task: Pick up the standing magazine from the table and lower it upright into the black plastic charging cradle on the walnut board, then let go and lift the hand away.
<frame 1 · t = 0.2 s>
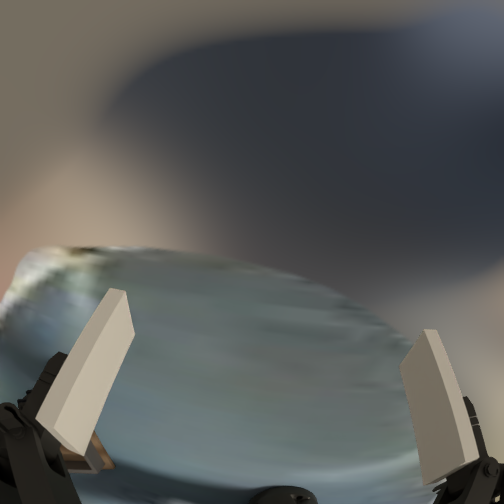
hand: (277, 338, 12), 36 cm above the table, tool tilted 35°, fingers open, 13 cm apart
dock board: (68, 446, 46), on the table
cradle: (66, 448, 45), resting on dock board
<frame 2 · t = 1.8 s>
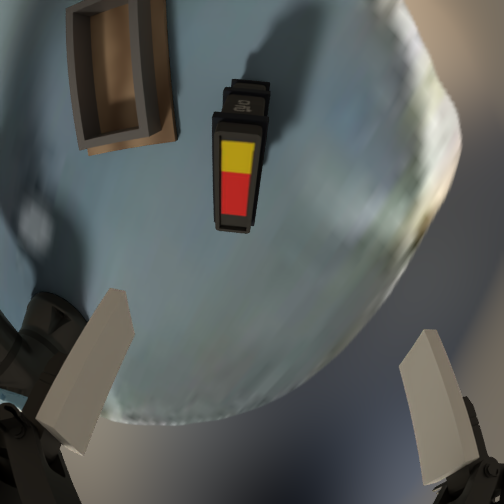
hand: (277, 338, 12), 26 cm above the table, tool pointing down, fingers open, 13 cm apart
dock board: (121, 65, 28), on the table
cradle: (118, 65, 27), resting on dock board
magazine: (246, 137, 33), on the table
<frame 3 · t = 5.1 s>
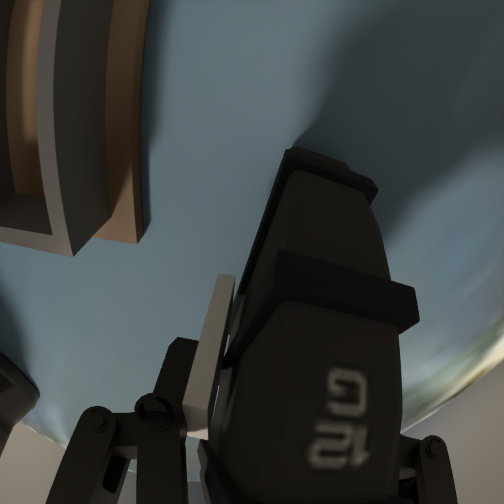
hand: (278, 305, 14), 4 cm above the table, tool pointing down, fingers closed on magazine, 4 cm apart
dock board: (53, 62, 11), on the table
cradle: (42, 63, 10), resting on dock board
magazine: (279, 259, 17), on the table, touching gripper
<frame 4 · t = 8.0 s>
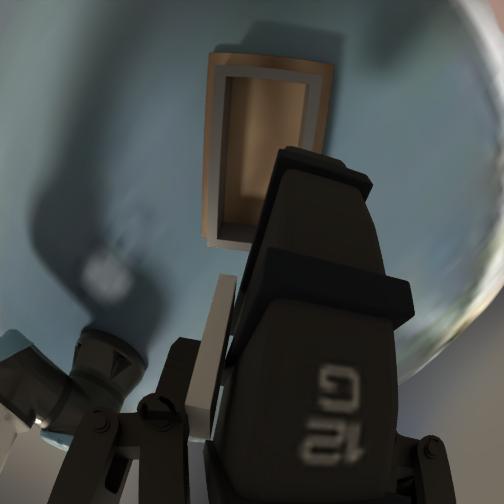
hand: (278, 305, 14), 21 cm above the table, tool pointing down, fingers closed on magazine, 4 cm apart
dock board: (261, 153, 30), on the table
cradle: (261, 156, 29), resting on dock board
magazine: (279, 258, 17), point 17 cm above the table, touching gripper
when the fingers open (6 cm above the table, at t = 10.7 s): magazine drops 1 cm, resting on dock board.
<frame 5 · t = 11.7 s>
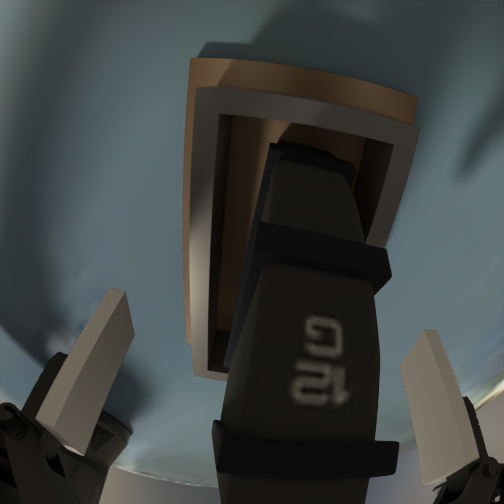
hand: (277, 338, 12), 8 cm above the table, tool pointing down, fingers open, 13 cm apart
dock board: (279, 239, 19), on the table
cradle: (279, 247, 18), resting on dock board
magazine: (277, 246, 18), point 1 cm above the table, touching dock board
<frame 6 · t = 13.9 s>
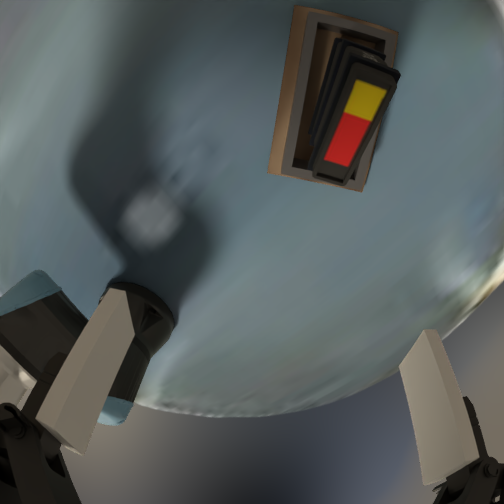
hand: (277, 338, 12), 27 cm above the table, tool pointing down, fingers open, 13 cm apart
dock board: (332, 98, 30), on the table
cradle: (334, 98, 29), resting on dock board
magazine: (332, 98, 30), point 1 cm above the table, touching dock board
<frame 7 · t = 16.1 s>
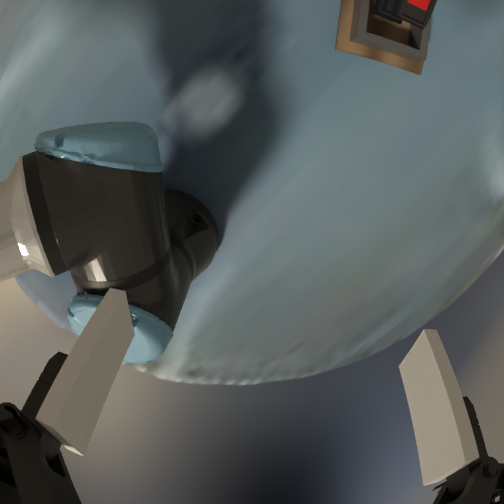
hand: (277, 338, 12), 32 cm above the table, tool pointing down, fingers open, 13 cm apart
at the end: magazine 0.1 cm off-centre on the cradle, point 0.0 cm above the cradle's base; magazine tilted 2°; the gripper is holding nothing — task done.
